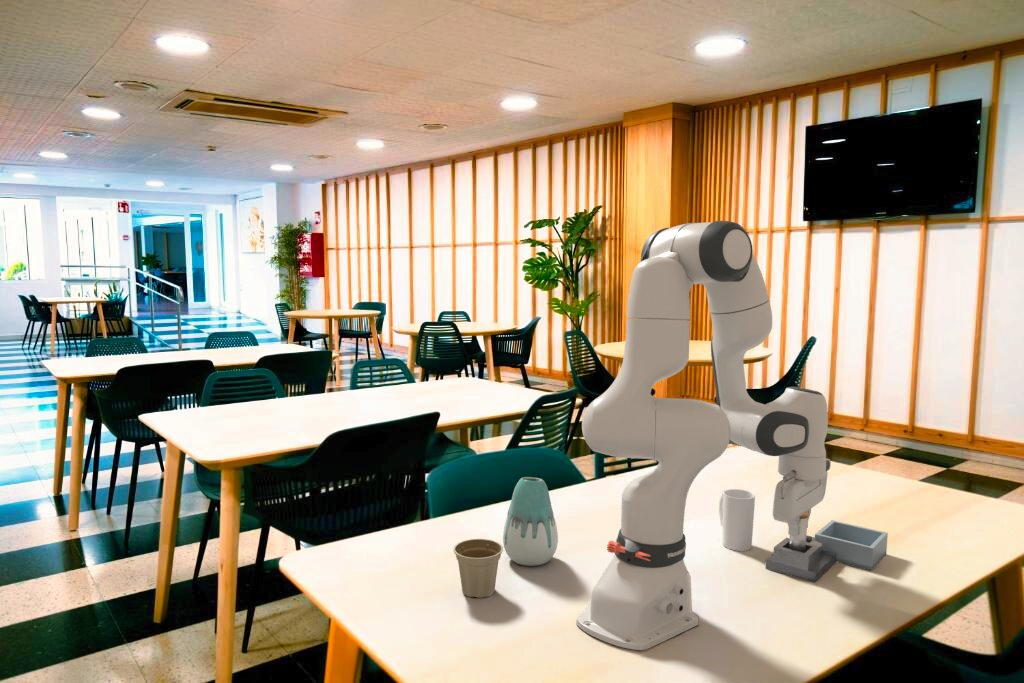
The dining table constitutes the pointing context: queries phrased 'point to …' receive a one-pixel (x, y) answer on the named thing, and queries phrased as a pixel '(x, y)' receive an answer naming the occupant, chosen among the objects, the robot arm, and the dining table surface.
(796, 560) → the block
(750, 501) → the mug
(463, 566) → the flower pot
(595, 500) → the dining table surface
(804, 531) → the lock pin
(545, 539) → the vase
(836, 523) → the parts bin
